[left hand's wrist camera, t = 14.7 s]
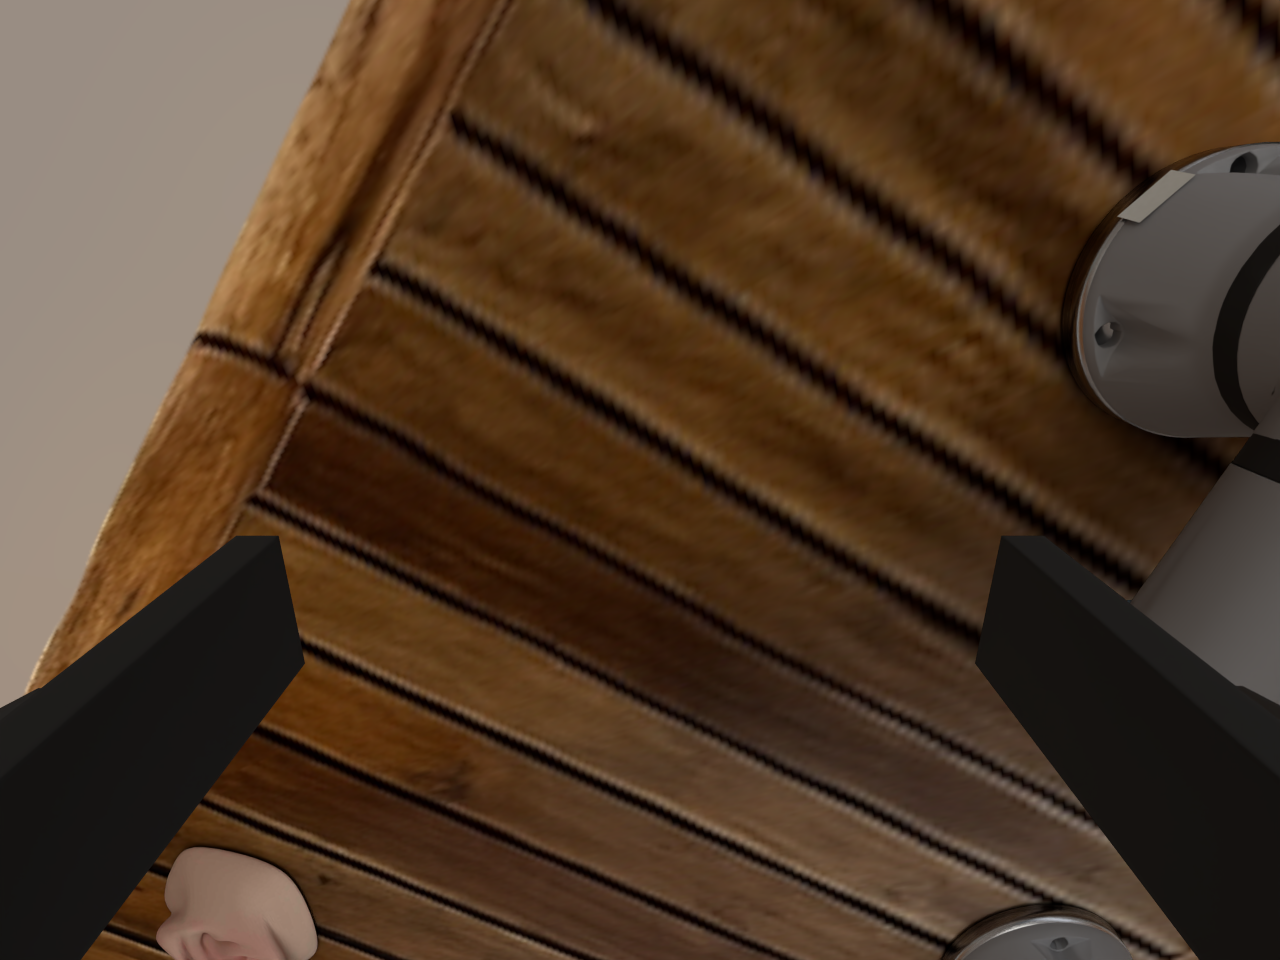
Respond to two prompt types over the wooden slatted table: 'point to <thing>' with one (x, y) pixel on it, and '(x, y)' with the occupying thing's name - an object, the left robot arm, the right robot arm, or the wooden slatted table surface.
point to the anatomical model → (234, 910)
